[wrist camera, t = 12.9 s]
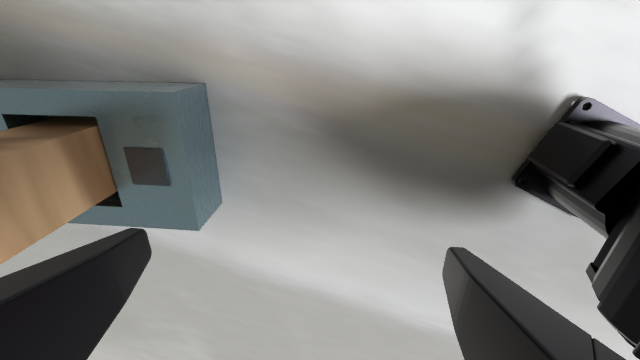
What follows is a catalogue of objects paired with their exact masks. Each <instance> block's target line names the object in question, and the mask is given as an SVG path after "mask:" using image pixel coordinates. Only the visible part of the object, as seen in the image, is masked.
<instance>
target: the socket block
mask: <svg viewBox="0 0 640 360" xmlns="http://www.w3.org/2000/svg"><path fill="white" fill-rule="evenodd" d="M60 116H88V117H96V119H97V123H98V126H99V129H100V133H101V136H102V139H103V143H104V146H105V149H106V153H107V156H108V160H109V163H110V166H111V170H112V173H113V176H114V180H115V183H116V186H117V190H118V191H117V192H115V193H114V194H112V195H110V196H109V197H107V198H106V199H104V200H102V201H101V202H99V203H98V204H96V205H94V206H93V207H91V208H90V209H88V210H86V211H85V212H83V213H82V214H80V215H78V216H77V217H75V218H74V219H72V220H70V221H69V222H67V223H79V224H96V225H112V226H129V227H146V228H162V229H179V230H195V231H199V230H200V229H201V228H202V226H203V225H204V224H205V223H206V222H207V220H208V219H209V218H210V217H211V215H212V214H213V213H214V212H215V211H216V209H217V208H218V207H219V206H220V204H221V203H222V198H221V191H220V184H219V177H218V170H217V162H216V155H215V148H214V141H213V134H212V127H211V120H210V113H209V106H208V99H207V92H206V85H205V83H157V82H106V81H54V80H2V79H0V131H3V130H7V129H11V128H15V127H19V126H23V125H27V124H31V123H35V122H39V121H44V120H48V119H52V118H56V117H60Z"/></svg>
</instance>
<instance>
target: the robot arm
mask: <svg viewBox="0 0 640 360" xmlns="http://www.w3.org/2000/svg"><path fill="white" fill-rule="evenodd" d="M585 103H587V106H586V108H584V109H582V107H583V105H584V104H585ZM523 177H524V179H523V180H522V181H521V182H519V179H520V178H523ZM512 182H513V184H515V185H516V186H517V187H519V188H521V189H523V190H525V191H527V192H529V193H531V194H532V195H534V196H536V197H538V198H540V199H542V200H544V201H546V202H548V203H550V204H552V205H554V206H556V207H558V208H560V209H562V210H564V211H566V212H568V213H570V214H572V215H574V216H576V217H578V218H580V219H581V220H583V221H584V222H585V223H587V224H588V225H589V226H591V227H592V228H593V229H595V230H596V231H597V232H598V233H600V234H601V235H602V236H604V237H605V238H606V239H607V240H606V242H605V243H604V245H603V247H602V249H601V250H600V252H599V254H598V255H597V257H596V259H595V261H594V262H593V263H590V264H589V266H588V268H587V269H586V273H587V275H588V277H589V279H590V281H591V283H592V287H593V289H594V291H595V294H596V296H597V298H598V300H599V301H600V303H599V304H598V306H597V308H598V310H599V311H600V313H601V314H602V315H603V317H604V318H605V319H606V320H607V321H608V322H609V323H610V324H611V325H612V326H613V327H614V328H615V329H616V330H617V331H618V332H619V334H620V335H621V336H622V337H623V338H624V339H625V340H626V341H627V342H628V343H629V344H630V345H632V346H633V347H634V348H635V349H634V350H633V351H632V353H633V354H634V356H636V357H637V358H638V359H640V125H639V124H638V123H636V122H634V121H632V120H631V119H629V118H627V117H625V116H623V115H622V114H620V113H618V112H616V111H614V110H613V109H611V108H609V107H607V106H606V105H604V104H602V103H600V102H598V101H597V100H595V99H592V98H588V97H582V98H580V99H578V100H577V101H576V102H575V103H574V104H573V106H572V107H571V108H570V109H569V110H568V111H567V113H566V114H565V115H564V116H563V117H562V119H561V120H560V121H559V122H558V123H557V124H555V126H554V127H553V128H552V129H551V130H550V131H549V133H548V134H547V135H546V136H545V137H544V139H543V140H542V141H541V142H540V143H539V144H538V146H537V147H536V148H535V149H534V150H533V152H532V153H531V154H530V155H529V158H528V159H527V160H526V161H525V162H524V164H523V165H522V166H521V167H520V168H519V169H518V171H517V172H516V173H515V174H514V175H513V177H512ZM150 258H151V247H150V244H149V240H148V236H147V233H146V231H145V230H144V229H137V228H129V229H126V230H124V231H121V232H118V233H116V234H113V235H111V236H108V237H105V238H103V239H100V240H98V241H95V242H92V243H90V244H87V245H84V246H82V247H79V248H77V249H74V250H71V251H69V252H66V253H64V254H61V255H58V256H56V257H53V258H51V259H48V260H45V261H43V262H40V263H37V264H35V265H32V266H30V267H27V268H24V269H22V270H19V271H17V272H14V273H11V274H9V275H6V276H4V277H1V278H0V360H87V359H88V357H89V356H90V354H91V353H92V351H93V350H94V348H95V347H96V346H97V344H98V343H99V341H100V340H101V338H102V337H103V335H104V334H105V332H106V331H107V329H108V328H109V327H110V325H111V324H112V322H113V321H114V319H115V318H116V316H117V315H118V313H119V312H120V311H121V309H122V307H123V306H124V304H125V303H126V301H127V299H128V298H129V296H130V294H131V292H132V291H133V289H134V287H135V285H136V283H137V282H138V280H139V278H140V276H141V275H142V273H143V271H144V269H145V267H146V266H147V264H148V262H149V260H150ZM443 281H444V285H445V290H446V294H447V299H448V304H449V308H450V313H451V317H452V321H453V325H454V330H455V333H456V336H457V339H458V342H459V345H460V348H461V351H462V354H463V356H464V359H465V360H626V359H624V358H623V357H621V356H620V355H618V354H617V353H615V352H614V351H612V350H611V349H609V348H608V347H607V346H605V345H604V344H602V343H601V342H599V341H598V340H597V339H595V338H593V339H592V337H591V335H589V334H588V333H586V332H585V331H583V330H582V329H581V328H579V327H578V326H576V325H575V324H573V323H572V322H570V321H569V320H568V319H566V318H565V317H563V316H562V315H560V314H559V313H558V312H556V311H555V310H553V309H552V308H550V307H549V306H547V305H546V304H545V303H543V302H542V301H540V300H539V299H537V298H536V297H534V296H533V295H532V294H530V293H529V292H527V291H526V290H524V289H523V288H521V287H520V286H519V285H517V284H516V283H514V282H513V281H511V280H510V279H509V278H507V277H506V276H504V275H503V274H501V273H500V272H498V271H497V270H496V269H494V268H493V267H491V266H490V265H488V264H487V263H485V262H484V261H483V260H481V259H480V258H478V257H477V256H475V255H474V254H472V253H471V252H470V251H468V250H467V249H465V248H461V247H450V248H448V250H447V253H446V258H445V262H444V267H443Z"/></svg>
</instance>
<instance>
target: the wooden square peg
mask: <svg viewBox="0 0 640 360" xmlns="http://www.w3.org/2000/svg"><path fill="white" fill-rule="evenodd" d="M117 191H118V190H117V186H116V183H115V180H114V176H113V173H112V170H111V166H110V163H109V160H108V156H107V153H106V149H105V146H104V143H103V139H102V136H101V133H100V129H99V126H98V123H97V119H96V117H88V116H60V117H56V118H52V119H48V120H44V121H39V122H35V123H31V124H27V125H23V126H19V127H15V128H11V129H7V130H3V131H0V264H2V263H3V262H5V261H7V260H8V259H10V258H11V257H13V256H15V255H16V254H18V253H19V252H21V251H23V250H24V249H26V248H27V247H29V246H31V245H32V244H34V243H35V242H37V241H39V240H40V239H42V238H43V237H45V236H46V235H48V234H50V233H51V232H53V231H54V230H56V229H58V228H59V227H61V226H62V225H64V224H66V223H67V222H69V221H70V220H72V219H74V218H75V217H77V216H78V215H80V214H82V213H83V212H85V211H86V210H88V209H90V208H91V207H93V206H94V205H96V204H98V203H99V202H101V201H102V200H104V199H106V198H107V197H109V196H110V195H112V194H114V193H115V192H117Z"/></svg>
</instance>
